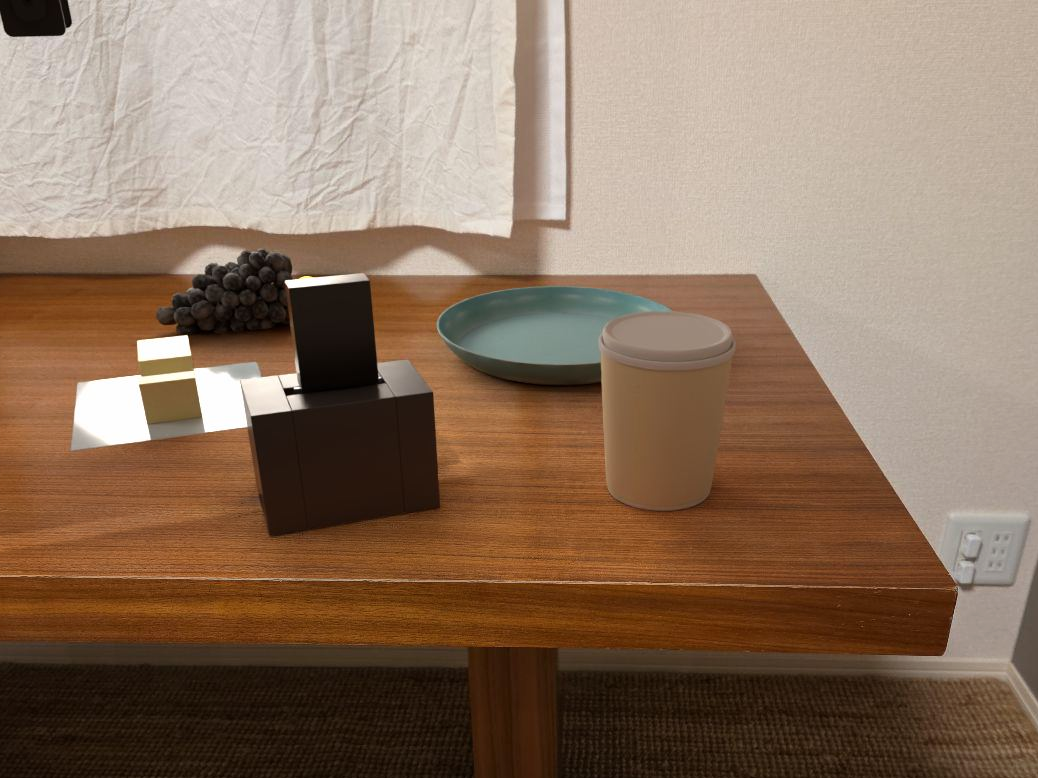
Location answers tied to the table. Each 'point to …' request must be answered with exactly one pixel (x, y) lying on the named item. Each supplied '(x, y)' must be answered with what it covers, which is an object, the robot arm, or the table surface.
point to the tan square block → (170, 397)
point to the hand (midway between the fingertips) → (42, 31)
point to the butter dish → (121, 419)
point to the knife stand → (342, 449)
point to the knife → (332, 332)
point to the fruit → (233, 296)
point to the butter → (164, 356)
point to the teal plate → (537, 331)
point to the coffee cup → (663, 406)
